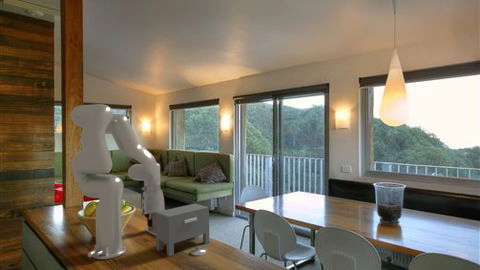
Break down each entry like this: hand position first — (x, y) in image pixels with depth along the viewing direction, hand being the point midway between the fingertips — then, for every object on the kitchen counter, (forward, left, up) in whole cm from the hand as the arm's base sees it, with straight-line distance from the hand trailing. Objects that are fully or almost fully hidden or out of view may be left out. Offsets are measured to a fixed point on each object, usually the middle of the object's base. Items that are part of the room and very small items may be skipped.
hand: (153, 225), depth 146 cm
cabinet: (-13, -23, -3) cm, 26 cm away
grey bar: (-3, -6, -3) cm, 7 cm away
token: (-18, -32, -3) cm, 37 cm away
